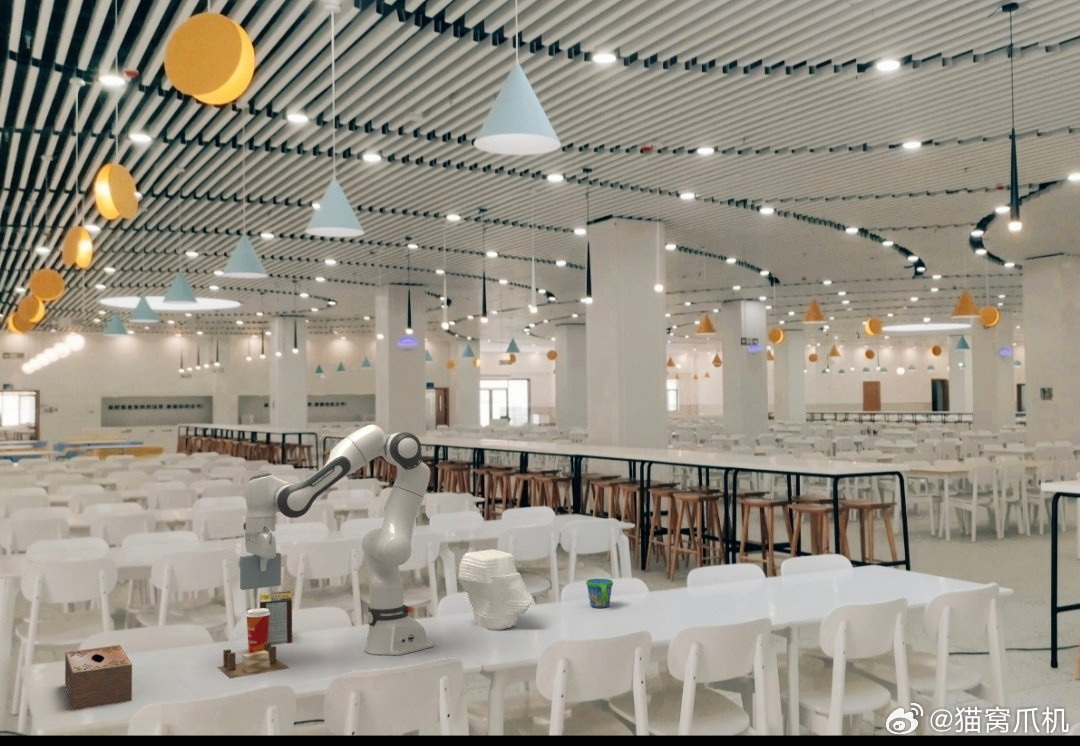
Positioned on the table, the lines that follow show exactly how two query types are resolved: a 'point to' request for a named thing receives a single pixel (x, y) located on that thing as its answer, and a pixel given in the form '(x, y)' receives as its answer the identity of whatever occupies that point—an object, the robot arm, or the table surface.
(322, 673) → the table surface
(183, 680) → the table surface
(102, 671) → the tissue box cover
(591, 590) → the snack cup
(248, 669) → the offcut lower
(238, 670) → the rack
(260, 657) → the offcut upper
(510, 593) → the white faceted lump
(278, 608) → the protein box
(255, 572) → the panel
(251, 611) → the paper cup
